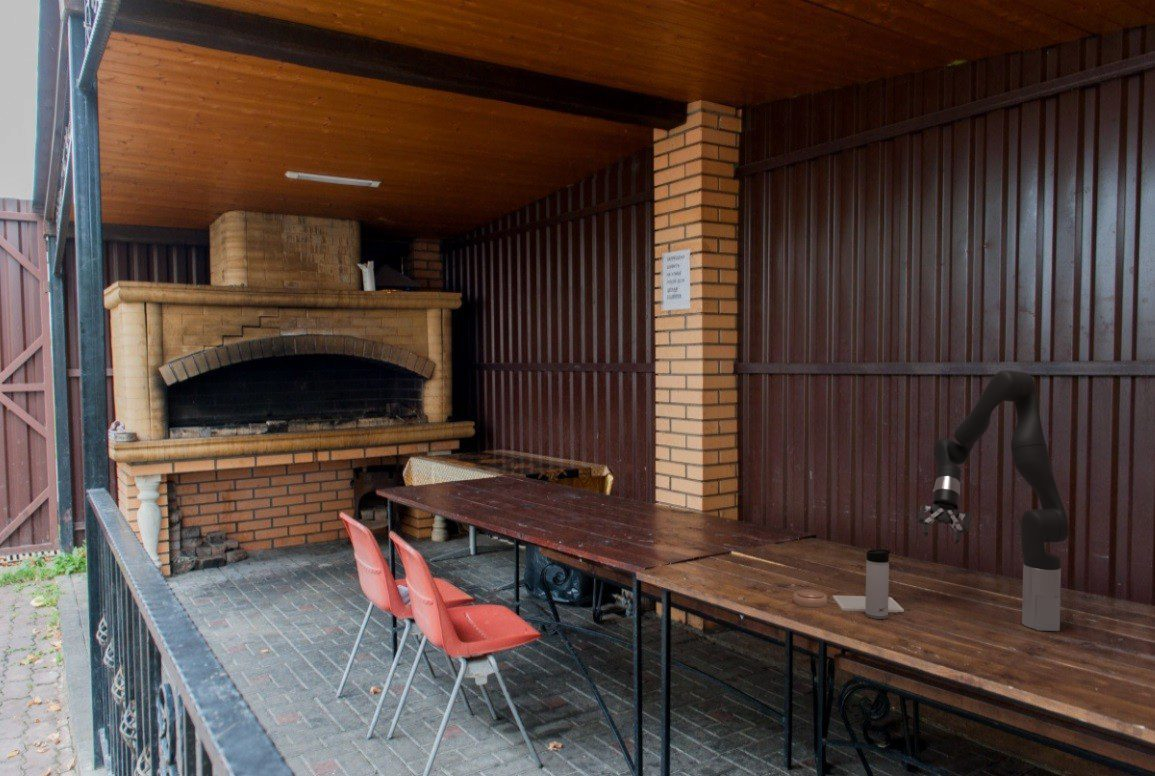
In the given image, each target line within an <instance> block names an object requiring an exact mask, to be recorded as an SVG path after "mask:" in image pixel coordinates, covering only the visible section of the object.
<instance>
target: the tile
mask: <svg viewBox="0 0 1155 776" xmlns="http://www.w3.org/2000/svg"><path fill="white" fill-rule="evenodd" d="M832 600H833V601H834V602H835V603H836V604H837V606H838V607H839V608H840V610H841V611H842V612H865V610H866V609H865V608H866V595H865V596H864V595H863V596H862V595H832ZM898 612H904V613H905V609H904V608H903V607H902V606H901V605H900V604H899V603H898V602H897V601H896V600H894V599H893V597H891V596H888V613H898Z"/></svg>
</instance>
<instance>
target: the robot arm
mask: <svg viewBox="0 0 1155 776" xmlns="http://www.w3.org/2000/svg"><path fill="white" fill-rule="evenodd" d="M1003 402H1013V404H1014V407H1015V410H1016V411H1015V412H1016V416H1017V421H1016V426H1015V429H1014V431H1013V435H1012V437H1011V441H1010V450H1011V455H1012V456H1011V457H1012V460H1013V465H1014V466H1015V469H1016V471H1017V472H1018V473H1019V475H1020V476H1021V477H1022V478H1023V480H1025V481H1026V483H1027V484H1028V485H1029V486H1030V488H1032V489H1033V491H1034V492H1035V494H1036V496H1037V497H1038V499H1039V503H1040V507H1041V508H1042V509H1040V508H1039V509H1028V510H1025V511H1024V513H1022V516H1021V519H1020V543H1021V547H1020V549H1021V553H1022V558H1023V563H1022V564H1023V565H1022V566H1023V567H1022V568H1023V570H1022V602H1021V603H1022V604H1021V605H1022V610H1021V611H1022V614H1021V618H1022V620H1021V624H1022V625H1023V626H1025V627H1027V628H1029V629H1034V630H1036V631H1045V632H1060V630H1061V628H1060V627H1061V600H1062V599H1061V579H1062V578H1061V576H1062V573H1061V571H1062V560H1061V558H1060V557H1059V556H1058V555H1055V554H1053V553H1049V552H1047V550H1046V547H1045V543H1062V542H1065V541H1067V539H1068V538H1069V534H1070V525H1069V523H1070V522H1069V519H1068V515H1067V513H1066V510H1065V507H1064V504H1063V502H1062V498H1061V495H1060V493H1059V489H1058V487H1057V484H1056V481H1055V475H1054V472H1053V469H1052V464H1051V459H1050V454H1049V450H1048V446H1047V442H1046V438H1045V435H1044V430H1043V425H1042V421H1041V417H1040V409H1039V400H1038V391H1037V386H1036V382H1035V380H1034V377H1033V376H1032V375H1031V374H1029V373H1028V372H1025V371H1018V370H1016V371H1015V370H999V371H998V372H997V373H996V374H994V376H993V377H992V378H991V379H990V381H989V382H988V384H987V385H986V387H985V389H984V390H983V392H982V394H981V395H980V397H979V399H978V400H977V402H976V404H975V405H974V407H973V409H972V410H971V411H970V412H969V414H968V415H967V416H966V417H965V419H964V420H963V421H961V423H960V424H959V425H958V427H956V428H955V430H954V432H953V437H954V439H955V440H956V441H955V440H952V439H950V438H947V437H941V438H939V439H937V441H936V442H935V444H934V446H933V457H934V462H935V467H936V478H935V483H934V487H933V490H932V491H933V493H932V494H933V495H932V501H931V502H932V504H931V506H930V505H926V503H923V502H922V504H921V506H920V509H919V514H918V519H917V523H919V524H922V525H923V528H922V529H923V530H922V535H924V537H926V538H927V537H928V536H929V531H930V524H933V523H934V522H935V521H936V523H940V524H941V523H943V524H945V525H950V526H951V528H952V529H953V530H954V531H955V533H954V534H955V535H954V542H953V543H954V544H955V545H957V544H958V543H960V542H961V539H962V534H967V533H968V531H969V530H970V529H969V528H970V514H969V513H968V512H965V513H961V512H960V511H959V506H960V505H959V503H960V495H961V475H962V470H961V468H960V467H959V465H960V466H961V465H963V464H965V463H966V462H967V461H968V459H969V457H970V454H971V452H972V450H973V447H974V446H975V444H976V443H977V441H979V440H980V438H981V437H982V436H983V435H984V434H985V433H986V432H987V431H988V429H989V427H990V424H991V417H992V415H993V414H992V413H993V412H994V410H995V409H996V408H997V406H999V405H1000V404H1002V403H1003ZM928 511H929V513H930V516H928V517H927V518H924V517H925V513H928ZM958 518H960V520H961V522H962V526H961V524H960V523H959V520H958Z"/></svg>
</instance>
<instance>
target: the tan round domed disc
mask: <svg viewBox="0 0 1155 776" xmlns="http://www.w3.org/2000/svg"><path fill="white" fill-rule="evenodd" d="M793 603H794V604H796V605H798V606H800V607H806V608H823V607H826V606H827V605H828V595H827V594H826V593H824V592H822V591H820V590H818V589H817V590H816V589H813V588H812V589H811V588H810V589H809V588H806V589H805V588H804V589H798V590H796V591H794V592H793Z"/></svg>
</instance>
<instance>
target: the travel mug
mask: <svg viewBox="0 0 1155 776" xmlns="http://www.w3.org/2000/svg"><path fill="white" fill-rule="evenodd" d="M890 554H891V550H890V549H886V548H885V549H884V548H883V549H882V548H873V549H869V550H868V551H866V560H865V567H866V568H865V596H866V608H865V609H866V610H865V611H864V612H865V616H866V617H867V618H869V617H870V618H869V619H872V618H874V619H873V620H877V619H883V620H887V619H888V618H889V612H888V597H889V584H890V581H889V579H890V576H889V575H890V564H889V563H890V559H889V558H890ZM886 618H887V619H886Z"/></svg>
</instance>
